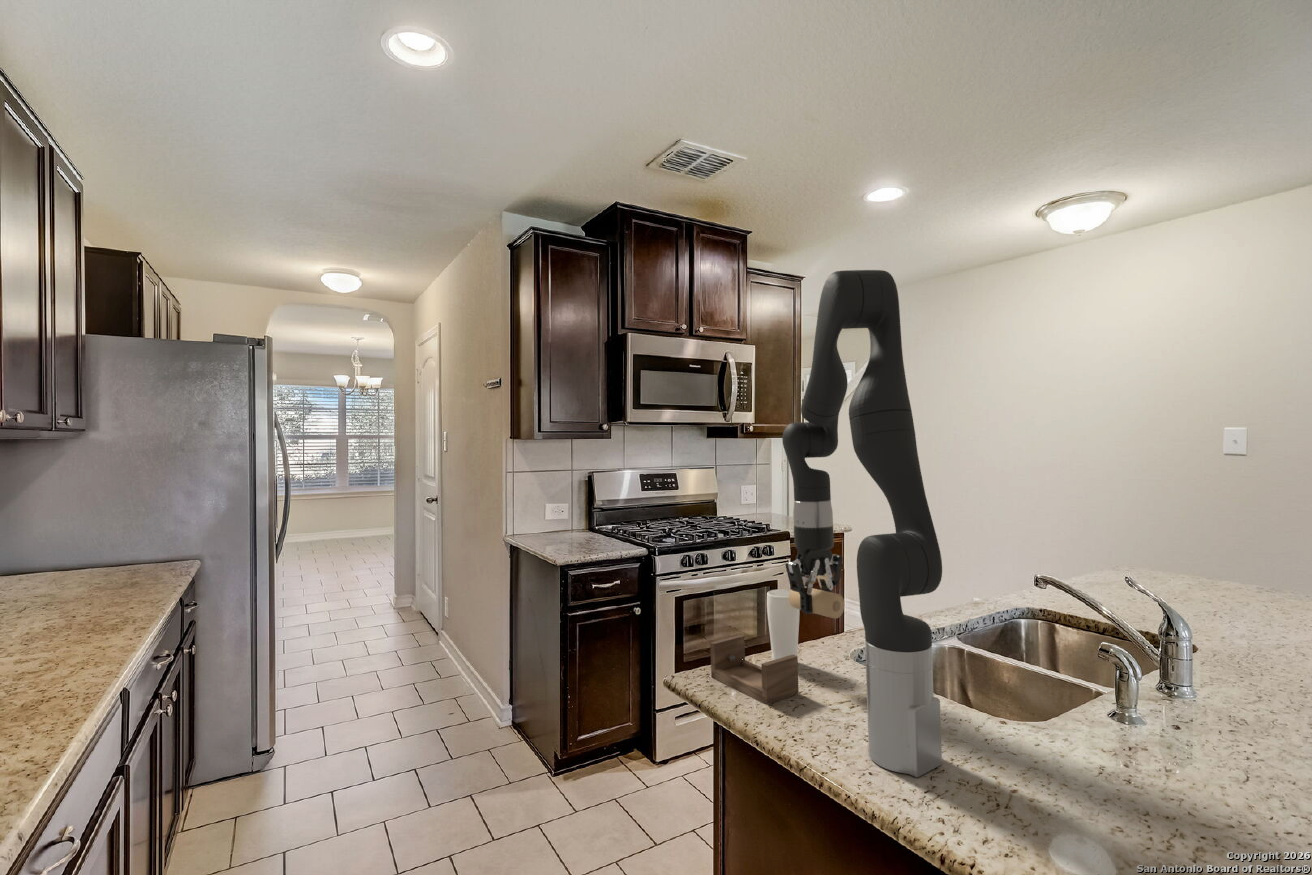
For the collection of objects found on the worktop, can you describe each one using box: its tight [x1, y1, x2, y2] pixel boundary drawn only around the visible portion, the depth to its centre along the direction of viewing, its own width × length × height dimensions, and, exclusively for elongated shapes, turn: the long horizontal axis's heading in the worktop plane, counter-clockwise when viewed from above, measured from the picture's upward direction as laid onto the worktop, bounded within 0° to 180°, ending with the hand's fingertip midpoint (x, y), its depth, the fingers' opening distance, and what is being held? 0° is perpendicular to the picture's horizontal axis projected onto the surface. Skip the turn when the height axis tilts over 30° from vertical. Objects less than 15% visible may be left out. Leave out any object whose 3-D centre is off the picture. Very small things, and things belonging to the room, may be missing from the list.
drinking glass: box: [766, 588, 801, 661], centre depth 130 cm, size 7×7×15 cm
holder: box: [709, 634, 800, 705], centre depth 119 cm, size 16×8×7 cm, turn 33°
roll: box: [789, 586, 845, 619], centre depth 120 cm, size 10×5×5 cm, turn 33°
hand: (816, 610), depth 120 cm, fingers closed on roll, 4 cm apart
